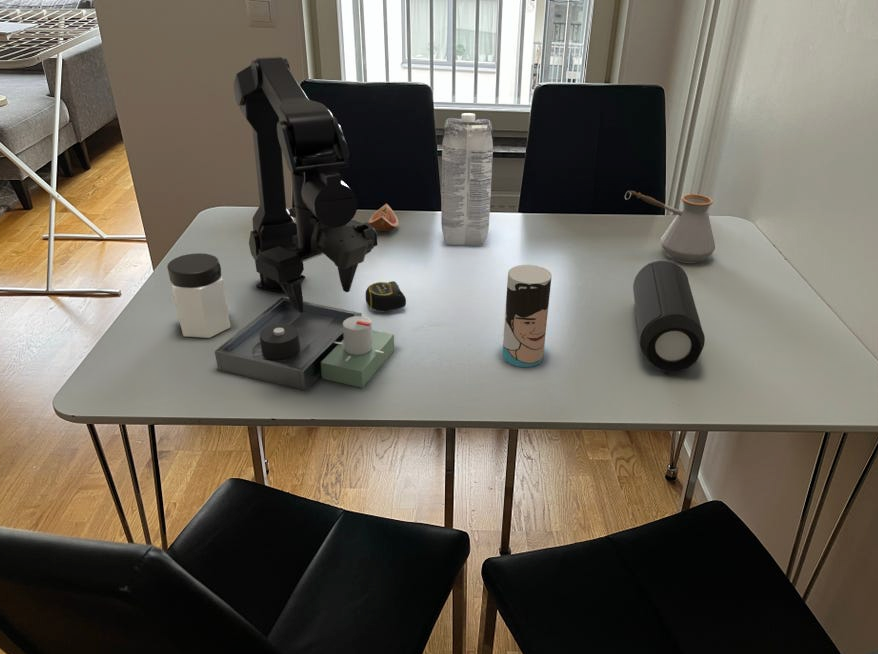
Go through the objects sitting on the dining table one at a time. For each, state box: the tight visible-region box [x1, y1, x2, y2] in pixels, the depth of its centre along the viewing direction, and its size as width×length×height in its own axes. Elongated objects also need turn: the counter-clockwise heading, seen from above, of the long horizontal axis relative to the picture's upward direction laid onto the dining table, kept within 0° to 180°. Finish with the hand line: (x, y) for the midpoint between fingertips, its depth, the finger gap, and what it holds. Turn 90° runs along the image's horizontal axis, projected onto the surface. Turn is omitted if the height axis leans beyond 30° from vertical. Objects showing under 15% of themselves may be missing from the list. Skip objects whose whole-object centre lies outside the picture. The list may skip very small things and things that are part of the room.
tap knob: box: [343, 315, 373, 355], centre depth 110 cm, size 4×4×5 cm
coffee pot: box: [624, 190, 716, 264], centre depth 149 cm, size 21×12×15 cm, turn 97°
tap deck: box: [321, 329, 395, 389], centre depth 113 cm, size 9×12×3 cm
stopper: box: [260, 324, 300, 359], centre depth 112 cm, size 6×6×5 cm
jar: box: [166, 252, 231, 339], centre depth 119 cm, size 9×8×12 cm
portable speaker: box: [632, 259, 706, 373], centre depth 121 cm, size 26×10×10 cm, turn 172°
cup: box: [501, 264, 553, 368], centre depth 113 cm, size 7×7×15 cm
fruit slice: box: [368, 203, 400, 232], centre depth 160 cm, size 8×7×5 cm
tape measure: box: [365, 280, 407, 312], centre depth 129 cm, size 7×7×4 cm
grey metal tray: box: [214, 296, 363, 391], centre depth 116 cm, size 16×20×4 cm
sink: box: [231, 308, 344, 368], centre depth 116 cm, size 14×18×2 cm
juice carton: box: [440, 112, 494, 247], centre depth 151 cm, size 9×10×27 cm
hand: (323, 301), depth 107 cm, fingers open, 9 cm apart
